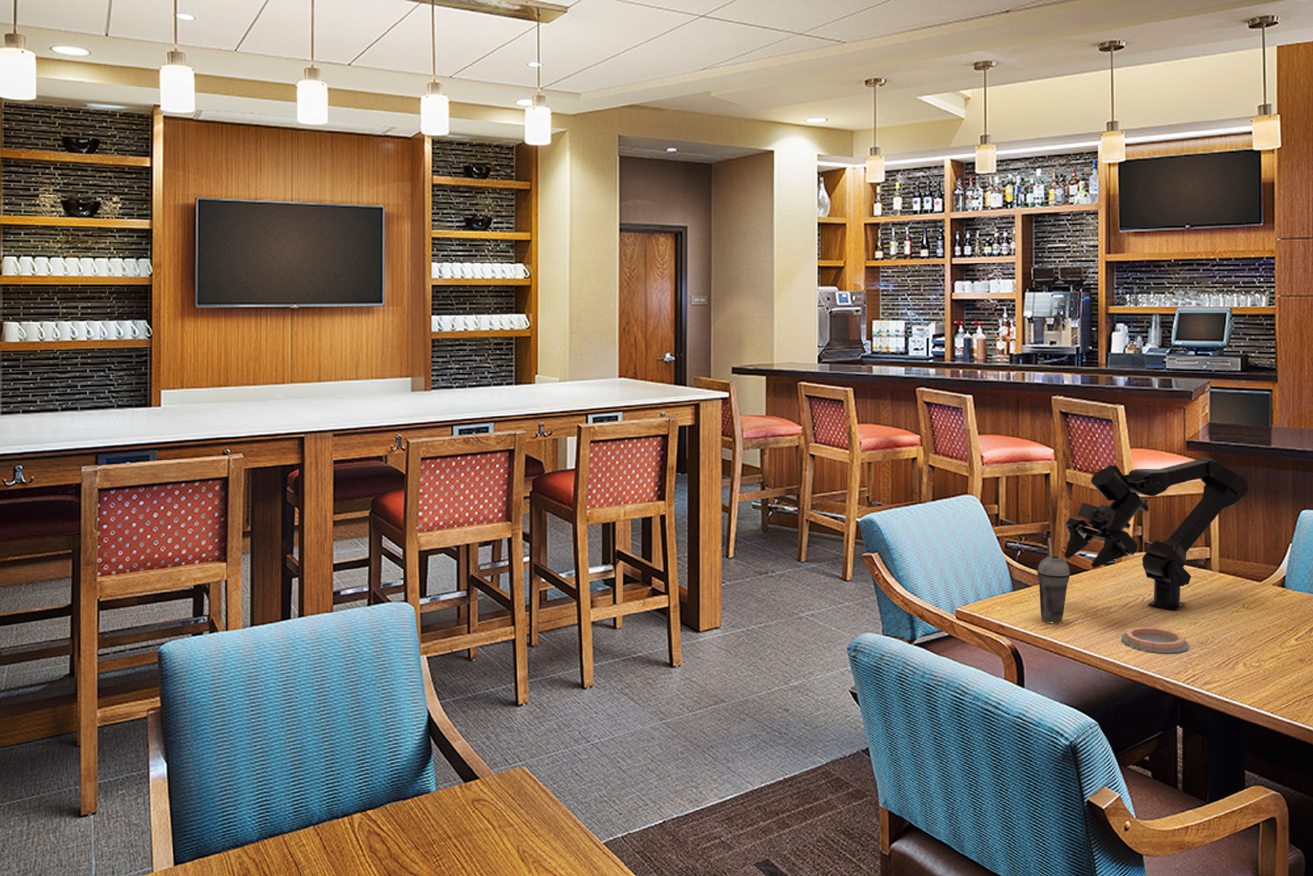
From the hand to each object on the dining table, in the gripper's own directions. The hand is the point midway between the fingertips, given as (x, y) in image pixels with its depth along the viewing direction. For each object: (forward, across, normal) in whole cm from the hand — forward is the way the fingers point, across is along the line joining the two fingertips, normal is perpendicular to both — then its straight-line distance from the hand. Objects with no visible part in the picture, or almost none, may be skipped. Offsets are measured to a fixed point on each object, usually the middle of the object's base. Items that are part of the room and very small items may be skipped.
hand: (1078, 562), depth 224 cm
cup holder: (+7, +21, +12) cm, 25 cm away
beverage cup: (+15, 0, +5) cm, 15 cm away
